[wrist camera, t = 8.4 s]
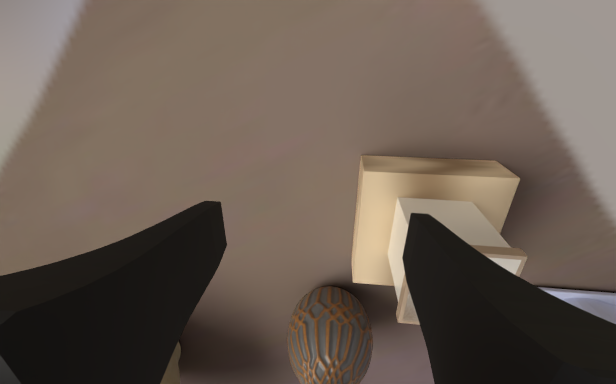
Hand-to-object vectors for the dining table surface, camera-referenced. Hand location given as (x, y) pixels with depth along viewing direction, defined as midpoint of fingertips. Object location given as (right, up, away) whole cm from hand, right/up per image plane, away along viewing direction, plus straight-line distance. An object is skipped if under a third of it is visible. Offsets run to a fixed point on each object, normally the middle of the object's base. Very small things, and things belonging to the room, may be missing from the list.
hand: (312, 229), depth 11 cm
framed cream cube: (+8, -1, +8) cm, 11 cm away
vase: (+2, -9, +16) cm, 18 cm away
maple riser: (+8, 0, +11) cm, 13 cm away
